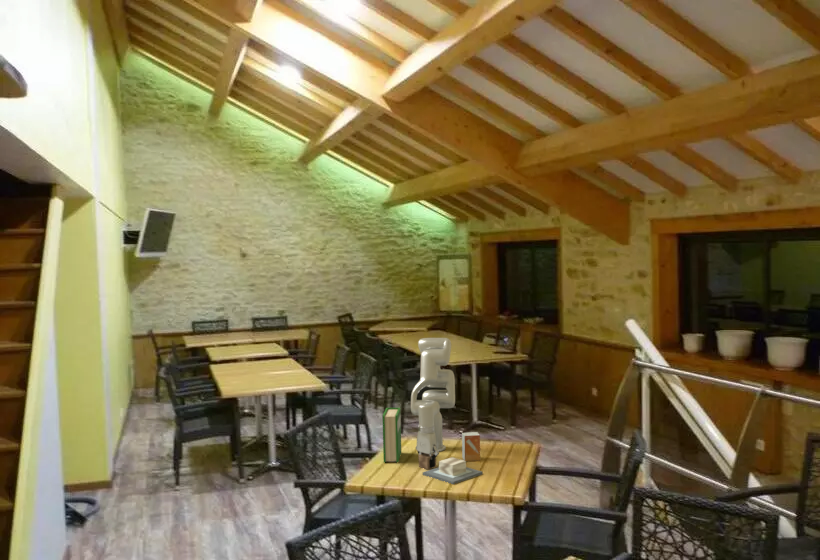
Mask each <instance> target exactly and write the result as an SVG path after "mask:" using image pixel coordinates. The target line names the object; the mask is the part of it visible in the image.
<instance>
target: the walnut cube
mask: <svg viewBox="0 0 820 560" xmlns="http://www.w3.org/2000/svg"><path fill="white" fill-rule="evenodd" d="M432 456H433V454H432ZM429 460H430V456H429V454H426V453H424V454H421V455H419V454H418V468H420V467H421V468H420V469H423V468H424V470H426V471H428V470H432V469H435V468H437V458H436V459H435V468H434V467H432V468H430V464H429Z"/></svg>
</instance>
